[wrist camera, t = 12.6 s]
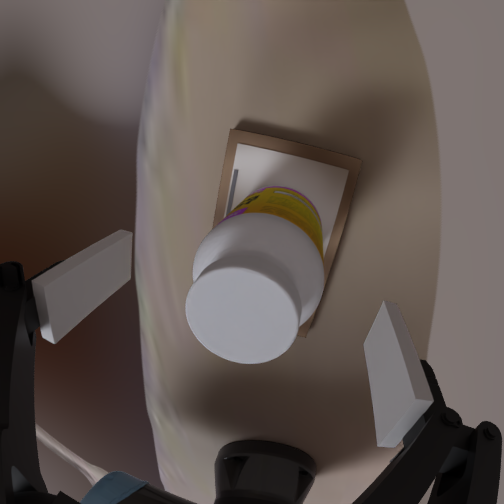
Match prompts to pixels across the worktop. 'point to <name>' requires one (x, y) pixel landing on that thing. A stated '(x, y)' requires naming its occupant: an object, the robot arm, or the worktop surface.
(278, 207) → the supplement bottle
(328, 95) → the worktop surface
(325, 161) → the clipboard
